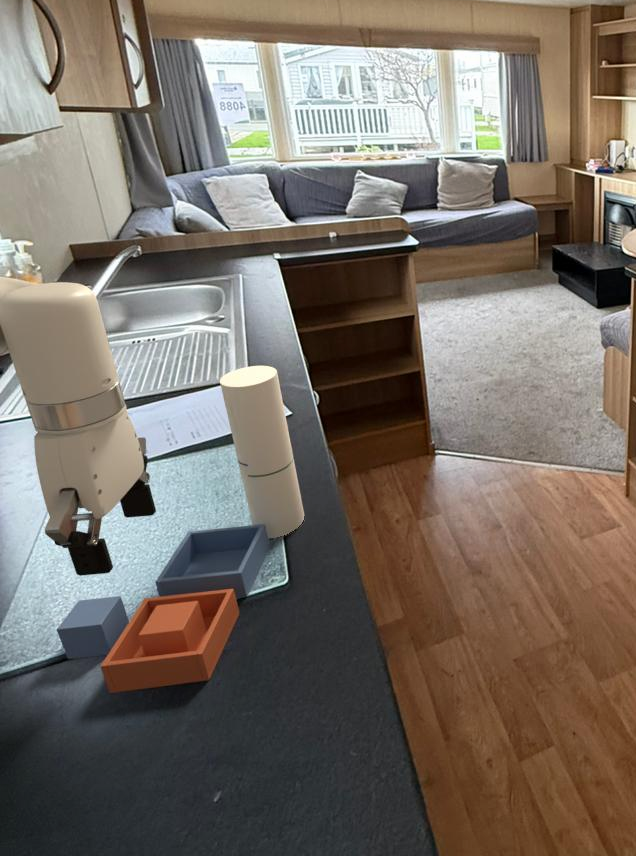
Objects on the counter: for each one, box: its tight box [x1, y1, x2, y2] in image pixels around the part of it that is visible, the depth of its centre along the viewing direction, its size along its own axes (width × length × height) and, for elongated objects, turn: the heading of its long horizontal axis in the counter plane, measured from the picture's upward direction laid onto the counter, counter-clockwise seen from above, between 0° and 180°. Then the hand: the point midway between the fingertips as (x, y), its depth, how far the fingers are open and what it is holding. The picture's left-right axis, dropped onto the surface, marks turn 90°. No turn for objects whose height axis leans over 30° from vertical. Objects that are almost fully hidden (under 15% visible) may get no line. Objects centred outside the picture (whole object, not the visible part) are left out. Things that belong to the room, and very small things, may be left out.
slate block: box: [56, 595, 130, 660], centre depth 78 cm, size 5×5×5 cm
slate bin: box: [155, 524, 271, 599], centre depth 89 cm, size 10×10×4 cm
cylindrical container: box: [219, 365, 305, 539], centre depth 95 cm, size 7×7×25 cm
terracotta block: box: [139, 601, 206, 657], centre depth 76 cm, size 5×5×5 cm
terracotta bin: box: [99, 589, 240, 694], centre depth 77 cm, size 10×10×4 cm
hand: (119, 542), depth 72 cm, fingers open, 9 cm apart
